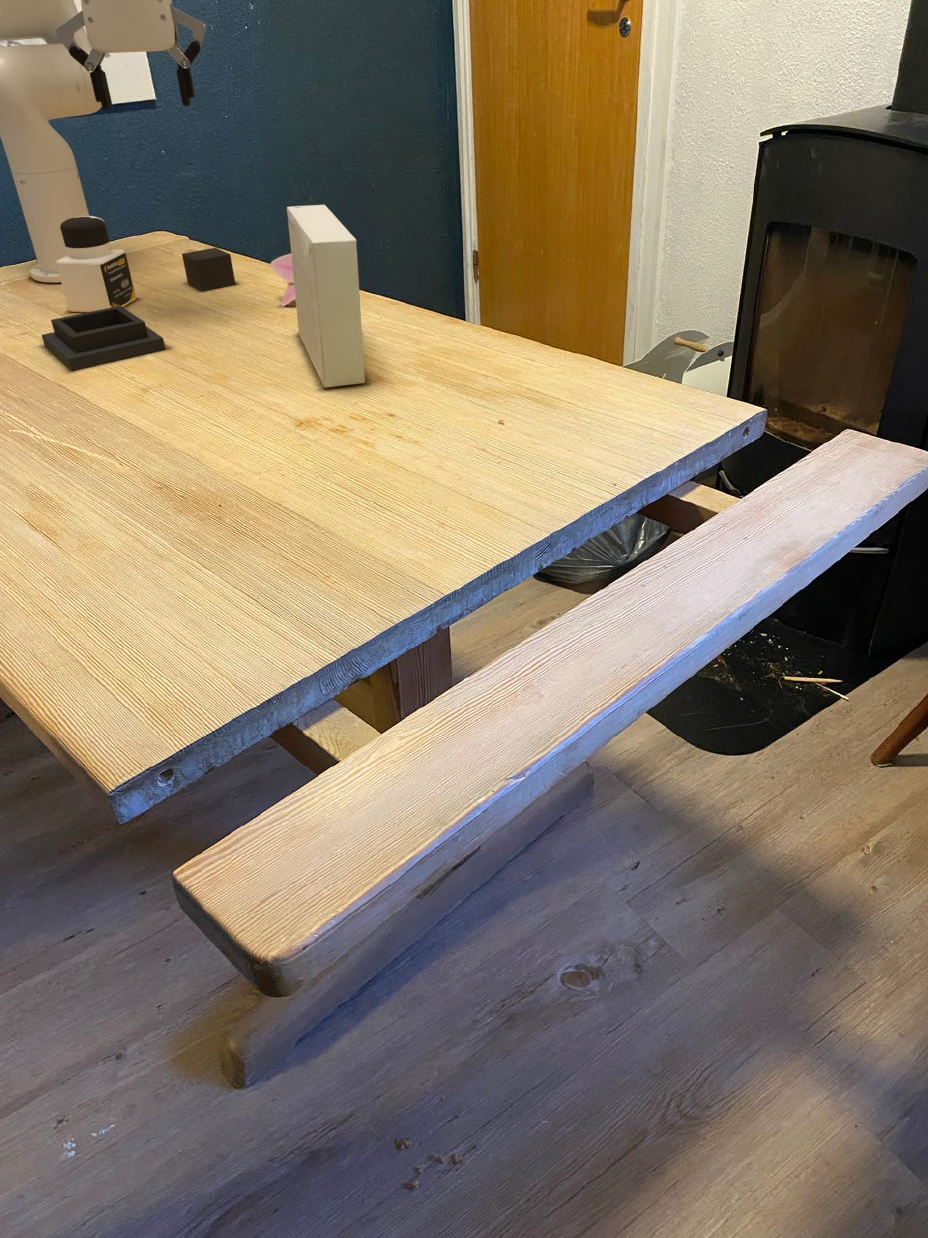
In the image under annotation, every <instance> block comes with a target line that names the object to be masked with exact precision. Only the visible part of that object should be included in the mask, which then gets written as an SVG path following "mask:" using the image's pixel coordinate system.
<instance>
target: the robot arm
mask: <svg viewBox="0 0 928 1238" xmlns="http://www.w3.org/2000/svg"><path fill="white" fill-rule="evenodd" d="M80 4H81V10H80V11H78V8H77V6H76V3H75V0H0V42H2V41H3V42H4V41H5V42H6V41H20V40H36V39H41V40H43V41H44V42H45V43H42V44H21V45H8V46H0V140H1V142H2V146H3V149H4V152H5V155H6V158H7V162H8V165H9V169H10V172H11V175H12V178H13V182H14V186H15V189H16V193H17V197H18V199H19V203H20V206H21V210H22V213H23V216H24V220H25V223H26V227H27V230H28V234H29V237H30V241H31V243H32V244H31V245H32V247H33V251H34V254H35V257H36V261H37V264H36V265H34V266H33V267H31V268H30V270H29V273H30V276H31V278H32V279H33V280H34V281H36V282H41V283H49V284H51V283H52V284H53V283H55V284H56V283H57V284H58V283H61V280H60V276H59V273H58V269H57V266H56V261H57V260H59V259H62V258H64V257H66V256H68V255H70V253H68V252H67V251H66V247H65V244H64V240H63V236H62V233H61V229H60V225H61V223H63V222H64V221H65V220H67V219H70V218H74V217H82V216H90V214H89V209H88V206H87V202H86V198H85V194H84V190H83V186H82V182H81V177H80V174H79V170H78V165H77V162H76V160H75V155H74V153H73V150H72V149H71V146H70V145H69V143H68V142H67V141H66V139H64V138H63V137H62V135H61V134H59V133H58V131H57V130H56V129H55V128H54V127H53V126H52V125H51V123H50V122H49V121H51V120H56V119H61V118H70V117H79V116H85V115H91V114H94V113H97V112H98V111H100V109H102V111H109V110H110V109H111V108H113V101H112V96H111V93H110V88H109V83H108V79H107V78H108V77H107V74H106V71H104V70H103V68H102V62H103V61H104V59H105V57H106V55H107V54H119V53H120V54H121V53H144V52H146V53H147V52H162V51H166V52H167V53H168V54H169V55H170V56H171V58H172V59H173V60H174V61H175V62H176V63H177V69H176V78H177V83H178V88H179V93H180V98H181V104H182V106H183V107H190V106H191V104H192V99H195V89H194V83H193V78H192V77H193V76H192V71H191V66H192V64H193V62H194V61H195V59H196V58H197V57H198V55H199V54H200V52H201V50H202V47H203V43H204V40H205V36H206V33H207V24H205V22H203V21H200V20H199V19H197V18H195V17H193V16H191V15H189V14H187V13H185V12H184V11H181V10H179V9H178V8H176V7H174V5H173V1H172V0H80ZM177 24H179V25H180V26H183V27H185V28H187V29H189V30H190V31H191V32H192V36H191V41H190V44H189V45H188V46H187V48H186V49H185V50H184V49H183V48H182V47H181V46H180V45H179V31H178V25H177ZM61 284H62V283H61Z"/></svg>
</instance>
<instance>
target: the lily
mask: <svg viewBox="0 0 928 1238" xmlns="http://www.w3.org/2000/svg"><path fill="white" fill-rule="evenodd" d="M269 266H270V268H271V269H272V271H273V272H274V273H275V274H277V276H278V277H280V278H281V279H282V280H283V281H286V282H288V283H287V285H286V288H285V290H284V293H283V296H282V299H281V307H285V306H286V305H288V304H290V303H291V302H293V301H294V300H296V295H295V289H294V280H293V268H292V254H291V253H288V254H287V253H286V254H285V255H281V256H279V257H277V258H275V259H274V260H272V261H271V262H270V264H269Z"/></svg>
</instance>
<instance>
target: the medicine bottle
mask: <svg viewBox="0 0 928 1238" xmlns="http://www.w3.org/2000/svg"><path fill="white" fill-rule="evenodd" d="M60 229H61V233H62V236H63V240H64V244H65V247H66V251H67V252H68V253H70V255H68V256H66V257H64V258H62V259H59V260H57V261H56V266H57V269H58V273H59V276H60V280H61V286H62V290H63V294H64V297H65V301H66V305H67V308H68V311H69V312H71V313H72V312H73V313H87V312H92V311H97V310H102V309H107V308H112V307H117V306H122V307H123V308H125V307H126V306H127V305H129V304H130V303H132V302H134V301H135V300H136V299H137V296H136V292H135V287H134V283H133V278H132V275H131V270H130V266H129V262H128V257H127V254H126V251H125V250H124V249H110V248H111V240H110V237H109V233H108V229H107V225H106V221H105V220H103V218H100V217H97V216H93V215H89V216H82V217H74V218H70V219H67V220H65V221H64V222H63V223H61V225H60Z"/></svg>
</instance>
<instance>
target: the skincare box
mask: <svg viewBox="0 0 928 1238" xmlns="http://www.w3.org/2000/svg"><path fill="white" fill-rule="evenodd" d="M286 214H287V224H288V225H287V226H288V233H289V244H290V254H292V268H293V280H294V289H295V295H296V298H295V309H296V317H297V318H296V320H297V329H298V335H299V338H300V340H301V342H302V344H303V346H304V348H305V350H306V352H307V354H308V357H309V359H310V361H311V363H312V366H313V367H314V369H315V371H316V374H317V376H318V378H319V380H320V382H321V384H322V386H323V388H333V387H341V386H350V385H357V384H364V383H366V377H365V376H366V375H365V361H364V359H365V358H364V346H363V329H362V328H363V327H362V315H361V314H362V313H361V312H362V311H361V298H360V297H361V296H360V295H361V293H360V282H359V281H360V279H359V264H358V263H359V262H358V247H357V239H356V238H355V236H354V235H352V233H350V231H349V230H348V228H346V227H345V226H344V224H343V223H342V222H341V220H339V219H338V218H337V217H336V215H335V214H334V213H333V212H332V211H331V210H330V209H329V208H328V207H327V206H326V204H314V205H313V204H312V205H295V206H287V207H286Z"/></svg>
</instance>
